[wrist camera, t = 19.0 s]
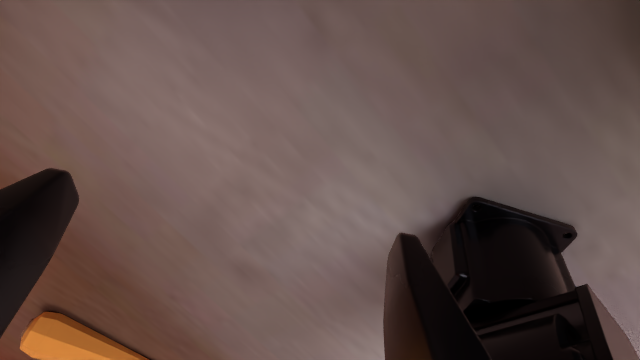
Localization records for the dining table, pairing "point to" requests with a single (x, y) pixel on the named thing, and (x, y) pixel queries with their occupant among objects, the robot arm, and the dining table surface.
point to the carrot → (69, 341)
